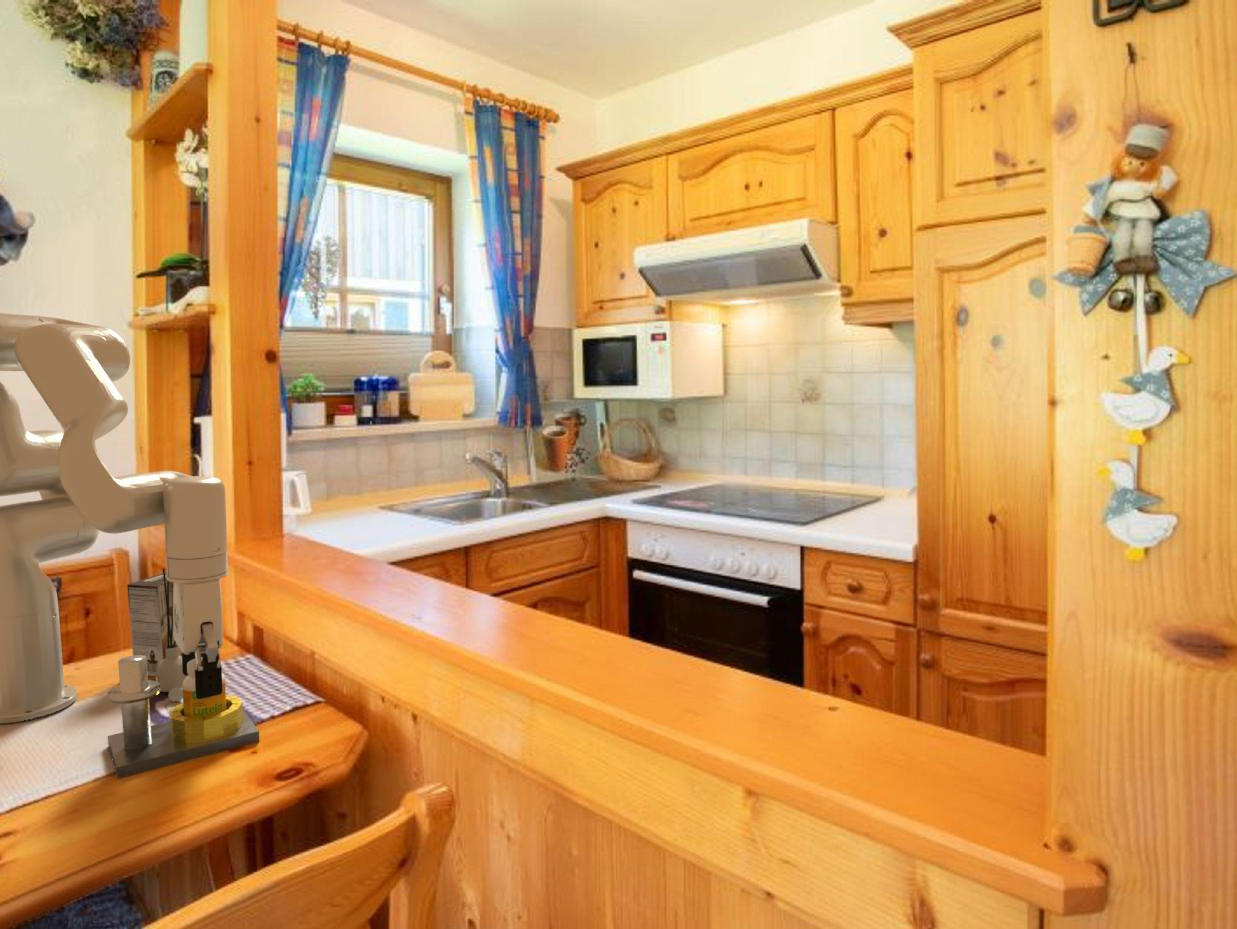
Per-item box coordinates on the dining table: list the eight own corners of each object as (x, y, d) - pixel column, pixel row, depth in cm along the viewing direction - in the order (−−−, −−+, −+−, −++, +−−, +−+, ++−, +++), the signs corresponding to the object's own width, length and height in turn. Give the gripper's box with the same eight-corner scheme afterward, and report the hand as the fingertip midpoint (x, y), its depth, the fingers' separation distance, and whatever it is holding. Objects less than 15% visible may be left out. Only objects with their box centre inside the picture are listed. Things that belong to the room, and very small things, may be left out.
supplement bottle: (190, 739, 108) (186, 671, 107) (180, 726, 112) (176, 660, 111) (232, 727, 112) (229, 662, 111) (221, 715, 116) (217, 651, 115)
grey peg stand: (117, 778, 101) (110, 677, 99) (108, 746, 109) (101, 652, 108) (259, 741, 111) (254, 648, 109) (240, 714, 120) (236, 628, 118)
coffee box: (172, 656, 144) (167, 570, 142) (203, 659, 142) (198, 572, 141) (132, 675, 135) (126, 583, 133) (164, 678, 133) (158, 585, 132)
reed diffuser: (151, 686, 130) (144, 567, 128) (197, 676, 134) (191, 561, 132) (164, 706, 122) (156, 580, 120) (212, 694, 127) (206, 573, 124)
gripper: (156, 556, 114) (162, 670, 116) (177, 584, 100) (183, 712, 102) (214, 550, 118) (218, 659, 120) (241, 576, 105) (245, 699, 107)
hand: (202, 684), depth 111 cm, fingers open, 9 cm apart
